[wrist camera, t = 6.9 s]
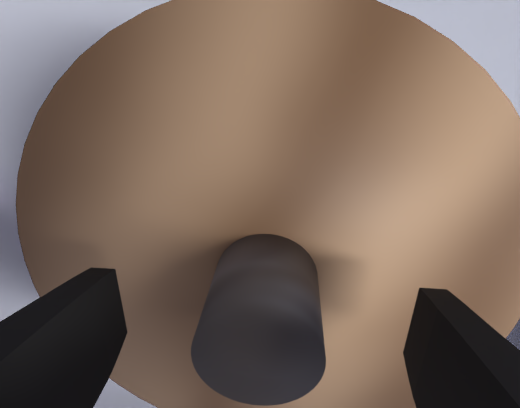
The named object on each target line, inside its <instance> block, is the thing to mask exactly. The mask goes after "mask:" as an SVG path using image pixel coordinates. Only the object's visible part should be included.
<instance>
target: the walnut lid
mask: <svg viewBox="0 0 520 408" xmlns="http://www.w3.org/2000/svg"><path fill="white" fill-rule="evenodd" d="M16 213H17V224H18V234H19V239H20V243H21V247H22V252H23V256H24V260H25V263H26V266H27V268H28V271H29V273H30V276H31V279H32V281H33V284H34V286H35V288H36V290H37V292H38V294H39V296H40V297H42V296H43V295H45V294H47V293H48V292H50V291H52V290H53V289H55V288H56V287H58V286H60V285H61V284H63V283H65V282H66V281H68V280H70V279H71V278H73V277H75V276H76V275H78V274H80V273H82V272H84V271H85V270H87V269H89V268H91V267H93V268H109V269H115V270H116V275H117V280H118V285H119V291H120V296H121V301H122V306H123V311H124V316H125V322H126V327H127V335H126V338H125V340H124V343H123V346H122V348H121V351H120V354H119V356H118V359H117V361H116V363H115V366H114V368H113V371H112V373H111V375H110V377H109V378H110V379H112V380H113V381H114V382H115V383H117V384H118V385H120V386H121V387H123V388H124V389H126V390H128V391H129V392H131V393H132V394H134V395H135V396H137V397H139V398H140V399H142V400H144V401H146V402H148V403H150V404H152V405H154V406H156V407H158V408H416V405H415V402H414V399H413V396H412V391H411V387H410V383H409V379H408V374H407V370H406V365H405V360H404V355H403V351H404V347H405V343H406V339H407V335H408V331H409V327H410V323H411V318H412V314H413V310H414V306H415V302H416V298H417V294H418V290H419V288H434V289H447V290H448V291H450V292H451V293H452V294H453V295H455V296H456V297H457V298H458V299H460V300H461V301H462V302H463V303H464V304H466V305H467V306H468V307H469V308H470V309H471V310H473V311H474V312H475V313H476V314H477V315H478V316H480V317H481V318H482V319H483V320H484V321H485V322H487V323H488V324H489V325H490V326H491V327H492V328H494V329H495V330H496V331H497V332H498V333H499V334H501V335H502V336H503V337H504V338H505V339H506V338H507V336H508V335H509V333H510V332H511V331H512V329H513V328H514V326H515V325H516V324H517V322H518V320H519V318H520V117H519V115H518V113H517V112H516V110H515V108H514V106H513V104H512V103H511V101H510V100H509V99H508V97H507V96H506V95H505V94H504V92H503V91H502V90H501V89H500V87H499V86H498V85H497V84H496V82H495V81H494V80H493V79H492V78H491V76H490V75H489V74H488V73H487V71H486V70H485V69H484V68H483V67H482V66H480V65H479V64H478V63H477V62H476V61H475V60H474V59H473V58H471V57H470V56H469V55H468V54H467V53H466V52H465V51H464V50H462V49H461V48H460V47H459V46H458V45H457V44H456V43H454V42H453V41H452V40H450V39H449V38H447V37H446V36H444V35H442V34H441V33H439V32H438V31H436V30H434V29H433V28H431V27H430V26H428V25H427V24H425V23H423V22H422V21H420V20H419V19H417V18H415V17H413V16H411V15H409V14H406V13H404V12H402V11H399V10H397V9H395V8H392V7H390V6H388V5H385V4H383V3H381V2H378V1H376V0H172V1H169V2H166V3H164V4H161V5H159V6H156V7H153V8H151V9H148V10H146V11H144V12H142V13H141V14H139V15H137V16H135V17H134V18H132V19H130V20H128V21H127V22H125V23H123V24H122V25H120V26H118V27H116V28H115V29H113V30H111V31H110V32H108V33H107V34H106V35H105V36H104V37H102V38H101V39H100V40H99V41H97V42H96V43H95V44H94V45H93V46H91V47H90V48H89V49H88V50H86V51H85V52H84V53H83V54H82V55H80V56H79V57H78V59H77V60H76V61H75V62H74V63H73V64H72V65H71V67H70V68H69V69H68V70H67V71H66V72H65V73H64V75H63V76H62V77H61V78H60V79H59V80H58V81H57V83H56V84H55V85H54V87H53V88H52V90H51V92H50V93H49V95H48V97H47V98H46V100H45V101H44V103H43V105H42V106H41V108H40V110H39V111H38V113H37V115H36V117H35V120H34V122H33V125H32V127H31V130H30V132H29V135H28V137H27V139H26V142H25V145H24V149H23V154H22V158H21V162H20V167H19V171H18V178H17V193H16Z"/></svg>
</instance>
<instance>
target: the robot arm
mask: <svg viewBox="0 0 520 408" xmlns="http://www.w3.org/2000/svg"><path fill="white" fill-rule="evenodd" d="M126 335H127V327H126V322H125V316H124V311H123V306H122V301H121V296H120V291H119V285H118V280H117V275H116V270H115V269H109V268H93V267H91V268H89V269H87V270H85V271H84V272H82V273H80V274H78V275H76V276H75V277H73V278H71V279H70V280H68V281H66V282H65V283H63V284H61V285H60V286H58V287H56V288H55V289H53V290H52V291H50V292H48V293H47V294H45V295H43V296H42V297H40V298H38V299H37V300H35V301H34V302H32V303H30V304H29V305H27V306H25V307H24V308H22V309H20V310H19V311H17V312H15V313H14V314H12V315H11V316H9V317H7V318H6V319H4V320H2V321H1V322H0V408H93V407H94V405H95V403H96V401H97V399H98V397H99V396H100V394H101V392H102V390H103V388H104V386H105V384H106V382H107V381H108V379H109V377H110V375H111V373H112V371H113V368H114V366H115V363H116V361H117V359H118V356H119V354H120V351H121V348H122V346H123V343H124V340H125V338H126ZM403 355H404V360H405V365H406V370H407V374H408V379H409V383H410V387H411V391H412V396H413V399H414V402H415V405H416V408H520V350H518V349H517V348H516V347H515V346H514V345H512V344H511V343H510V342H509V341H508V340H507V339H505V338H504V337H503V336H502V335H501V334H499V333H498V332H497V331H496V330H495V329H494V328H492V327H491V326H490V325H489V324H488V323H487V322H485V321H484V320H483V319H482V318H481V317H480V316H478V315H477V314H476V313H475V312H474V311H473V310H471V309H470V308H469V307H468V306H467V305H466V304H464V303H463V302H462V301H461V300H460V299H458V298H457V297H456V296H455V295H453V294H452V293H451V292H450V291H448V290H447V289H434V288H419V290H418V294H417V298H416V302H415V306H414V310H413V314H412V318H411V323H410V327H409V331H408V335H407V339H406V343H405V347H404V351H403Z"/></svg>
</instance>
